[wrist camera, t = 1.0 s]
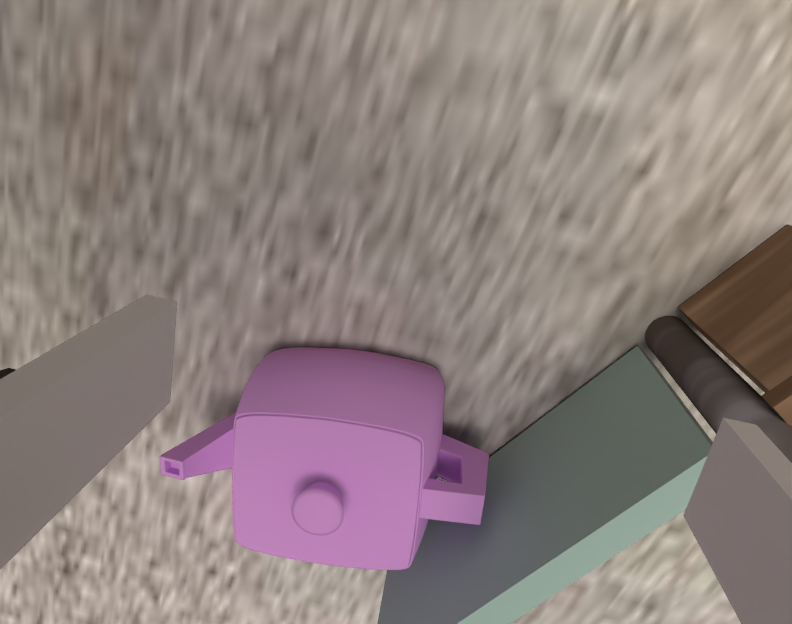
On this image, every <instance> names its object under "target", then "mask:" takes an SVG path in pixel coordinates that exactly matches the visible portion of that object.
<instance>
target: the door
mask: <svg viewBox="0 0 792 624" xmlns="http://www.w3.org/2000/svg"><path fill="white" fill-rule="evenodd" d="M712 444H713V442H712V441H711V439H710V438H709V437H708V435H707V434H706V433H705V431H704V430H703V429H702V427H701V426H700V425H699V423H698V422H697V421H696V419H695V418H694V417H693V415H692V414H691V413H690V411H689V410H688V409H687V407H686V406H685V405H684V403H683V402H682V401H681V399H680V398H679V397H678V395H677V394H676V393H675V391H674V390H673V389H672V387H671V386H670V385H669V383H668V382H667V381H666V379H665V378H664V377H663V375H662V374H661V373H660V371H659V370H658V369H657V367H656V366H655V365H654V363H653V362H652V361H651V360H650V359H649V358H648V357H647V356H646V354H645V353H644V352H643V351H642V350H641V349H640V348H639V347H638V346H636V347H635V348H633V349H632V350H631V351H629V352H628V353H627V354H625V355H624V356H623V357H621V358H620V359H619V360H618V361H616V362H615V363H614V364H612V365H611V366H610V367H608V368H607V369H606V370H604V371H603V372H602V373H600V374H599V375H598V376H596V377H595V378H594V379H592V380H591V381H590V382H589V383H587V384H586V385H585V386H583V387H582V388H581V389H579V390H578V391H577V392H575V393H574V394H573V395H571V396H570V397H569V398H567V399H566V400H565V401H563V402H562V403H561V404H560V405H558V406H557V407H556V408H554V409H553V410H552V411H550V412H549V413H548V414H546V415H545V416H544V417H542V418H541V419H540V420H538V421H537V422H536V423H534V424H533V425H532V426H531V427H529V428H528V429H527V430H525V431H524V432H523V433H521V434H520V435H519V436H517V437H516V438H515V439H513V440H512V441H511V442H509V443H508V444H507V445H505V446H504V447H503V448H502V449H500V450H499V451H498V452H496V453H495V454H494V455H492V456H491V457H490V458H489V463H488V472H487V481H486V491H485V499H484V505H483V511H482V517H481V523H480V525H474V524H466V523H457V522H449V521H440V520H431V519H428V523H427V526H426V529H425V532H424V535H423V537H422V540H421V543H420V545H419V548H418V550H417V552H416V555H415V557H414V559H413V561H412V563H411V565H410V567H409V568H406V569H402V570H387V574H386V579H385V585H384V591H383V596H382V602H381V607H380V613H379V618H378V624H510V623H512V622H513V621H515V620H516V619H518V618H519V617H521V616H522V615H524V614H525V613H527V612H529V611H530V610H532V609H533V608H535V607H536V606H538V605H539V604H541V603H542V602H544V601H546V600H547V599H549V598H550V597H552V596H553V595H555V594H556V593H558V592H559V591H561V590H563V589H564V588H566V587H567V586H569V585H570V584H572V583H573V582H575V581H576V580H578V579H579V578H581V577H583V576H584V575H586V574H587V573H589V572H590V571H592V570H593V569H595V568H596V567H598V566H600V565H601V564H603V563H604V562H606V561H607V560H609V559H610V558H612V557H613V556H615V555H616V554H618V553H620V552H621V551H623V550H624V549H626V548H627V547H629V546H630V545H632V544H633V543H635V542H637V541H638V540H640V539H641V538H643V537H644V536H646V535H647V534H649V533H650V532H652V531H654V530H655V529H657V528H658V527H660V526H661V525H663V524H664V523H666V522H667V521H669V520H670V519H672V518H674V517H675V516H677V515H678V514H680V513H681V512H683V511H684V510H686V508H687V506H688V503H689V501H690V498H691V496H692V493H693V491H694V488H695V486H696V483H697V481H698V478H699V476H700V474H701V471H702V469H703V466H704V464H705V461H706V459H707V456H708V454H709V451H710V449H711V446H712Z"/></svg>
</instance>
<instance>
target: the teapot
mask: <svg viewBox="0 0 792 624" xmlns="http://www.w3.org/2000/svg"><path fill="white" fill-rule="evenodd" d="M444 396H445V388H444V380H443V377H442V376H441V374H440V372H439V371H438V370H437V369H436V368H434V367H433V366H430V365H428V364H425V363H422V362H418V361H414V360H410V359H405V358H400V357H395V356H390V355H385V354H380V353H374V352H369V351H361V350H352V349H339V348H313V347H294V348H284V349H279V350H276V351H274V352H272V353H270V354H268V355H266V356H265V357H264V358H263V359H262V360H261V361H260V363H259V364H258V365H257V367H256V368H255V370H254V371H253V373H252V375H251V376H250V378H249V380H248V382H247V384H246V386H245V389H244V391H243V394H242V397H241V400H240V403H239V406H238V409H237V412H235V413H234V414H232V415H230V416H228V417H227V418H225V419H223V420H221V421H220V422H218V423H216V424H214V425H213V426H211V427H209V428H207V429H206V430H204V431H202V432H201V433H199V434H197V435H195V436H194V437H192V438H190V439H188V440H187V441H185V442H183V443H181V444H180V445H178V446H176V447H174V448H173V449H171V450H169V451H167V452H166V453H164V454H162V455H161V456H160V465H161V474H162V475H166V476H169V477H173V478H177V479H181V480H184V479H185V478H188V477H192V476H197V475H201V474H206V473H211V472H215V471H220V470H224V469H229V468H232V505H233V529H234V538H235V542H236V543H237V544H239V545H241V546H243V547H245V548H248V549H251V550H254V551H258V552H262V553H266V554H270V555H275V556H279V557H284V558H289V559H294V560H300V561H305V562H311V563H317V564H324V565H332V566H341V567H351V568H361V569H375V570H402V569H406V568H409V567H410V565H411V563H412V561H413V559H414V557H415V555H416V552H417V550H418V548H419V545H420V543H421V540H422V537H423V535H424V532H425V529H426V526H427V523H428V519H431V520H440V521H449V522H457V523H466V524H474V525H480V523H481V517H482V511H483V505H484V499H485V491H486V481H487V472H488V463H489V453H487V452H484V451H482V450H479V449H477V448H475V447H472V446H470V445H467V444H465V443H463V442H460V441H458V440H456V439H453V438H451V437H448V436H446V435H444V434H442V430H443V416H444ZM437 476H439V477H441V478H443V479H445V480H448V481H450V482H448V481H442V480H437V479H436V478H437Z"/></svg>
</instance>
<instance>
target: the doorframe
mask: <svg viewBox="0 0 792 624" xmlns="http://www.w3.org/2000/svg"><path fill="white" fill-rule="evenodd" d="M678 308H679V309H680V310H681V311H682V312H683V313H684V315H685V316H686V317H687V318H688V319H689V320H690V321H691V323H692V324H693V325H694V326H695V327H696V328H697V329H698V331H699V332H700V333H701V334H703V335H704V336H705V337H706V338H707V339H708V340H709V341H710V342H711V343H712V344H713V345H714V346H715V347H716V348H718V349H719V350H720V351H721V352H722V353H723V354H724V355H725V356H726V357H727V358H728V359H729V360H730V361H731V362H733V363H734V364H735V365H736V366H737V367H738V368H739V369H740V370H741V371H742V372H743V373H744V374H745V375H746V376H748V377H749V378H750V379H751V380H752V381H753V382H754V383H755V384H756V385H757V386H758V387H759V388H760V389H761V390H763V391H764V392H765V394H763V395H762V396H760V395H759V394H758V393H757V392H756V391H755V390H754V389H753V388H752V387H751V386H750V385H749V384H748V383H747V382H746V381H745V380H744V379H743V378H742V377H741V376H740V375H739V374H737V373H736V372H735V371H734V370H733V369H732V368H731V367H730V366H729V365H728V364H727V363H726V362H725V361H724V360H723V359H722V358H721V357H720V356H719V355H718V354H717V353H716V352H715V351H713V350H712V349H711V348H710V347H709V346H708V345H707V344H706V343H705V342H704V341H703V340H702V339H701V338H700V337H699V336H698V335H697V334H696V333H695V332H694V331H693V330H692V329H690V328H689V327H688V326H687V325H686V324H685V323H684V322H683V321H682V320H681V319H679V318H677V317H674V316H664V317H660V318H658V319H656V320H655V321H653V322H652V323H651V324H650V325H649V327H648V328H647V331H646V335H645V339H646V343H647V345H648V347H649V348H650V349H651V351H652V352H653V353H654V354H655V356H656V357H657V358H658V360H659V361H660V362H661V363H662V365H663V366H664V367H665V369H666V370H667V371H668V372H669V374H670V375H671V376H672V378H673V379H674V380H675V381H676V383H677V384H678V385H679V387H680V388H681V389H682V390H683V392H684V393H685V394H686V396H687V397H688V398H689V399H690V401H691V402H692V403H693V404H694V406H695V407H696V408H697V410H698V411H699V412H700V413H701V415H702V416H703V417H704V419H705V420H706V421H707V422H708V424H709V425H710V426H711V428H712V429H713V430H714V431H715V433H716V434H717V432H718V429H719V427H720V424H721V422H722V419H723V418H727V419H732V420H737V421H741V422H746V423H751V424H755V425H757V426H758V427H759V428H760V429H761V430H762V431H763V432H764V434H765V435H766V436H767V437H768V438H769V439H770V440H771V441H772V442H773V443H774V444H775V446H776V447H777V448H778V449H779V450H780V451H781V452H782V453H783V454H784V455H785V456H786V457H787V459H788V460H789V461H790V462H791V463H792V226H790V225H786V226H784V227H783V228H782V229H780V230H779V231H778V232H776V233H775V234H774V235H773V236H771V237H770V238H769V239H767V240H766V241H765V242H763V243H762V244H761V245H759V246H758V247H757V248H755V249H754V250H753V251H751V252H750V253H749V254H747V255H746V256H745V257H743V258H742V259H741V260H739V261H738V262H737V263H735V264H734V265H733V266H731V267H730V268H729V269H727V270H726V271H725V272H723V273H722V274H721V275H719V276H718V277H717V278H716V279H714V280H713V281H712V282H710V283H709V284H708V285H706V286H705V287H704V288H702V289H701V290H700V291H698V292H697V293H696V294H694V295H693V296H692V297H690V298H689V299H688V300H686V301H685V302H684V303H682V304H681V305H680V306H678Z"/></svg>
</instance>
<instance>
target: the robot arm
mask: <svg viewBox="0 0 792 624" xmlns="http://www.w3.org/2000/svg"><path fill="white" fill-rule="evenodd" d="M176 311H177V301H175V300H170V299H165V298H160V297H156V296H151V295H145V296H143V297H142V298H140V299H138V300H136V301H135V302H133V303H131V304H129V305H128V306H126V307H124V308H123V309H121V310H119V311H117V312H116V313H114V314H112V315H110V316H109V317H107V318H105V319H104V320H102V321H100V322H98V323H97V324H95V325H93V326H91V327H90V328H88V329H86V330H85V331H83V332H81V333H79V334H78V335H76V336H74V337H72V338H71V339H69V340H67V341H66V342H64V343H62V344H60V345H59V346H57V347H55V348H53V349H52V350H50V351H48V352H47V353H45V354H43V355H41V356H40V357H38V358H36V359H34V360H33V361H31V362H29V363H27V364H26V365H24V366H22V367H21V368H19V369H17V370H15V369H11V368H7V369H4V370H0V569H1V568H2V567H3V566H4V565H5V564H6V563H7V562H9V561H10V560H11V559H12V558H13V557H14V556H15V555H16V554H17V553H18V552H19V551H20V550H21V549H22V548H23V547H24V546H25V545H26V544H27V543H28V542H29V541H30V540H31V539H32V538H33V537H34V536H35V535H36V534H37V533H38V532H39V531H40V530H41V529H42V528H43V527H44V526H45V525H46V524H47V523H48V522H49V521H50V520H51V519H52V518H53V517H54V516H55V515H56V514H57V513H58V512H59V511H60V510H61V509H62V508H63V507H64V506H65V505H66V504H67V503H68V502H69V501H70V500H71V499H72V498H73V497H74V496H75V495H76V494H77V493H78V492H79V491H80V490H81V489H82V488H83V487H84V486H86V485H87V484H88V483H89V482H90V481H91V480H92V479H93V478H94V477H95V476H96V475H97V474H98V473H99V472H100V471H101V470H102V469H103V468H104V467H105V466H106V465H107V464H108V463H109V462H110V461H111V460H112V459H113V458H114V457H115V456H116V455H117V454H118V453H119V452H120V451H121V450H122V449H123V448H124V447H125V446H126V445H127V444H128V443H129V442H130V441H131V440H132V439H133V438H134V437H135V436H136V435H137V434H138V433H139V432H140V431H141V430H142V429H143V428H144V427H145V426H146V425H147V424H148V423H149V422H150V421H151V420H152V419H153V418H154V417H155V416H156V415H157V414H158V413H159V412H160V411H161V410H163V409H164V408H165V407H166V406H167V405H168V404H169V403H170V396H171V382H172V368H173V354H174V340H175V325H176ZM684 517H685V519H686V521H687V523H688V525H689V527H690V529H691V530H692V532H693V534H694V536H695V538H696V540H697V542H698V544H699V545H700V547H701V549H702V551H703V553H704V555H705V557H706V558H707V560H708V562H709V564H710V566H711V568H712V570H713V572H714V573H715V575H716V577H717V579H718V581H719V583H720V585H721V586H722V588H723V590H724V592H725V594H726V596H727V598H728V600H729V601H730V603H731V605H732V607H733V609H734V611H735V613H736V615H737V616H738V618H739V620H740V622H741V624H792V463H791V462H790V461H789V460H788V459H787V457H786V456H785V455H784V454H783V453H782V452H781V451H780V450H779V449H778V448H777V447H776V446H775V444H774V443H773V442H772V441H771V440H770V439H769V438H768V437H767V436H766V435H765V434H764V432H763V431H762V430H761V429H760V428H759V427H758V426H757V425H755V424H751V423H746V422H741V421H737V420H732V419H727V418H723V419H722V422H721V424H720V427H719V429H718V432H717V434H716V437H715V439H714V441H713V444H712V446H711V449H710V451H709V454H708V456H707V459H706V461H705V464H704V466H703V469H702V471H701V474H700V476H699V478H698V481H697V483H696V486H695V488H694V491H693V493H692V496H691V498H690V501H689V503H688V506H687V508H686V511H685V513H684Z"/></svg>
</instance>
